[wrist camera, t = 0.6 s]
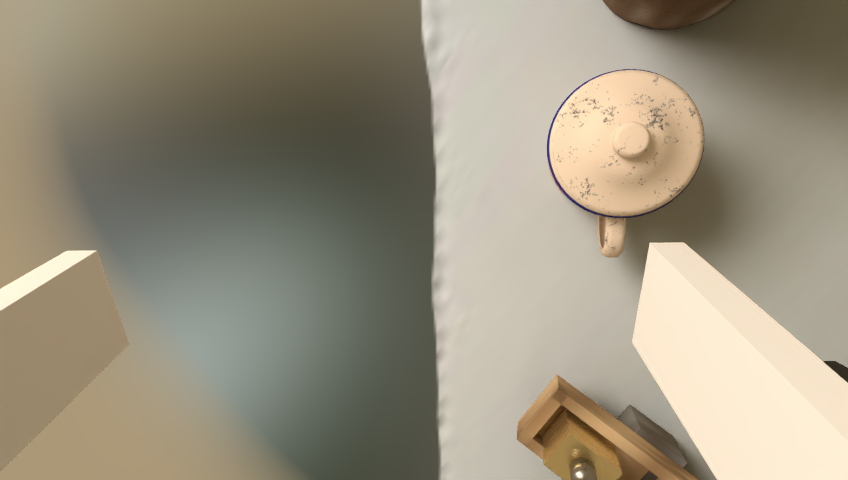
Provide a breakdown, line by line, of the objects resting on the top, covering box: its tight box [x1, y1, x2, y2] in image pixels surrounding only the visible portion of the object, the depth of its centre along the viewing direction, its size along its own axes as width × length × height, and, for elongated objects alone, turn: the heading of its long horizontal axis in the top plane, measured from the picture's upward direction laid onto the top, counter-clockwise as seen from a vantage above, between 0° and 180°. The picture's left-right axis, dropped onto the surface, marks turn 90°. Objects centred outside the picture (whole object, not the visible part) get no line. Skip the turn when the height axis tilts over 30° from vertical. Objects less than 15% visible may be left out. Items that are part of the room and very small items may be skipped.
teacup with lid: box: [547, 69, 704, 257], centre depth 32 cm, size 12×9×12 cm
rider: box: [543, 408, 622, 480], centre depth 32 cm, size 4×3×6 cm
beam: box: [517, 375, 698, 480], centre depth 36 cm, size 18×6×7 cm, turn 55°
